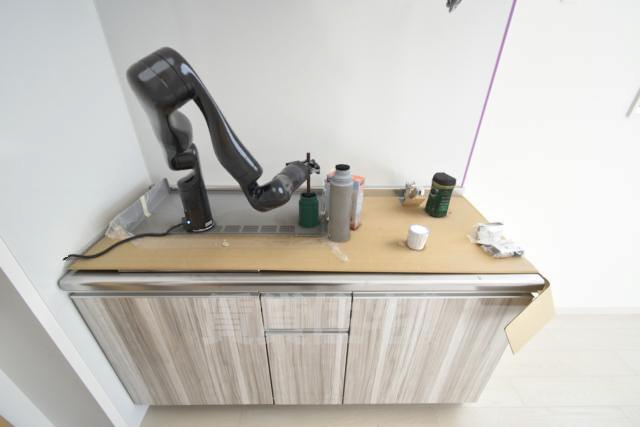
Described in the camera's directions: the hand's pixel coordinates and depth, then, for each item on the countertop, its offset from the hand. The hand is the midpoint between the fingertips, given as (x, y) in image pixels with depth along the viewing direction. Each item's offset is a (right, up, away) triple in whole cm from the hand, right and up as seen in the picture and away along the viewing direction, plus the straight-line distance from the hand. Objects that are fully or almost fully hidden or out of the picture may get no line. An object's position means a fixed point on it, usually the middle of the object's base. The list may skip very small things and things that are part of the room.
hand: (310, 161), depth 91 cm
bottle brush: (-1, -15, +5) cm, 16 cm away
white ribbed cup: (+39, -32, -3) cm, 50 cm away
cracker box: (+13, -24, +11) cm, 29 cm away
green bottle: (-1, -24, +10) cm, 26 cm away
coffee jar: (+57, -20, +19) cm, 63 cm away
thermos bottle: (+11, -29, +2) cm, 31 cm away
